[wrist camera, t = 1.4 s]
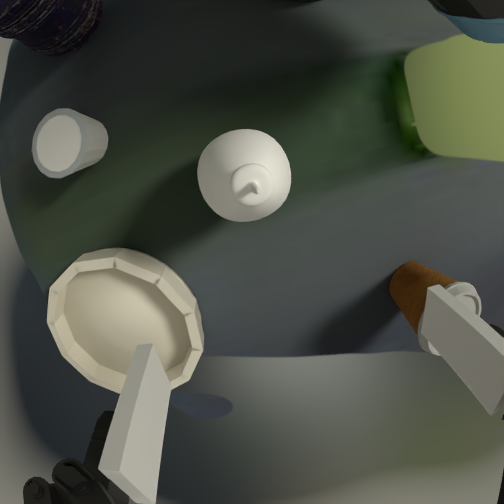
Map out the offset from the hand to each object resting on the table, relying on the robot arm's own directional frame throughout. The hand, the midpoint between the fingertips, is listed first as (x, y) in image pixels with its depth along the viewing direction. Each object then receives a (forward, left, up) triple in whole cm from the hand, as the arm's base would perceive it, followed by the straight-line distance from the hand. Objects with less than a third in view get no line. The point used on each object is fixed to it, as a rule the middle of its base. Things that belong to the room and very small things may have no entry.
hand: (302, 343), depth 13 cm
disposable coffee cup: (+11, +21, -23) cm, 33 cm away
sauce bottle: (-6, -1, -23) cm, 23 cm away
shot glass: (-12, -18, -23) cm, 31 cm away
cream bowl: (+11, -18, -22) cm, 31 cm away
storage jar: (-29, -20, -23) cm, 42 cm away
